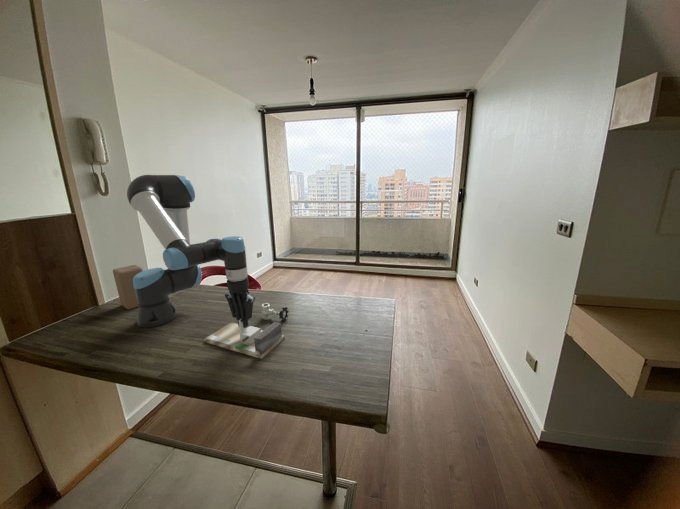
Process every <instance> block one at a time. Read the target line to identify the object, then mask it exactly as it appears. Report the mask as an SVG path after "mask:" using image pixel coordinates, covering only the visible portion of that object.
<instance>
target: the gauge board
mask: <svg viewBox="0 0 680 509" xmlns="http://www.w3.org/2000/svg"><path fill="white" fill-rule="evenodd" d="M285 338H286V337H285V335H284V334H282V323H281V322H277V321H273V323H271V324H270V325H269V326H267V327H266V328H265V329H263V330H262V329H261V333H259V334H258V335H257V336H256V337H254V342H253V343H252V344H247V343H244V342H241V341H240V329H239V326H238V323H235V322H230V323H228V324H226V325H225V326H223V327H221V328H220V329H218V330H217V331H216V332H213V333H212V334H210V335H208V336H206V337H205V338H204V342H205V343H207V344H211V345H214V346H217V347H220V348H224V349H226V350H230V351H234V352H237V353H240V354H243V355H247V356H250V357H254V358H257V359H260V360H263V359H264V358H265V357H266V356H268V354H269V353H271V351H273V350H274V348H276V347H277V346H278V345H279V344H280V343H281V342H282V341H284V339H285Z"/></svg>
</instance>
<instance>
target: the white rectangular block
mask: <svg viewBox="0 0 680 509" xmlns="http://www.w3.org/2000/svg"><path fill="white" fill-rule="evenodd" d="M261 330H262V329H261V328H260V327H256V326H252V325H249V326H248V328H247V329H245V330H244V331H243V332H241V333H240V341H241V342H244V343H247V344H252V343H253V342H254V337H256V336H257V335H258V334H259V333H261Z"/></svg>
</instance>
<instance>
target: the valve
mask: <svg viewBox="0 0 680 509" xmlns="http://www.w3.org/2000/svg"><path fill="white" fill-rule="evenodd" d="M288 308H289V307H287V306H285V307H282V310H280V311H278V310H275V309H274V308H270V303H268V302H265V303H262V304H261V315H262V319H263V320H266V321H267V320H271V317H273V316H274V315H275V316H279V319H280V322H283V323H284V322H286V321H287V318H288V317H289V315H288V313H289V312H290V311H289V310H288Z"/></svg>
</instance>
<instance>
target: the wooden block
mask: <svg viewBox="0 0 680 509" xmlns="http://www.w3.org/2000/svg"><path fill="white" fill-rule="evenodd" d="M142 271H144V270H143V268H142V267H140V266H139V265H136V264H133V265H127V266H123V267H122V266H121V267H118V268H114V269H112V273H113V278H114V282H115V285H116V290H117V292H118V293H117V294H118V297H119V301H120V305H121V306H122V307H124V308H125V309H126V310H132V309H134V308H139V306H138V302H137V297H136V293H135V289H134V285H133V278H134V276H135V275H137V274H138V273H140V272H142Z"/></svg>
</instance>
